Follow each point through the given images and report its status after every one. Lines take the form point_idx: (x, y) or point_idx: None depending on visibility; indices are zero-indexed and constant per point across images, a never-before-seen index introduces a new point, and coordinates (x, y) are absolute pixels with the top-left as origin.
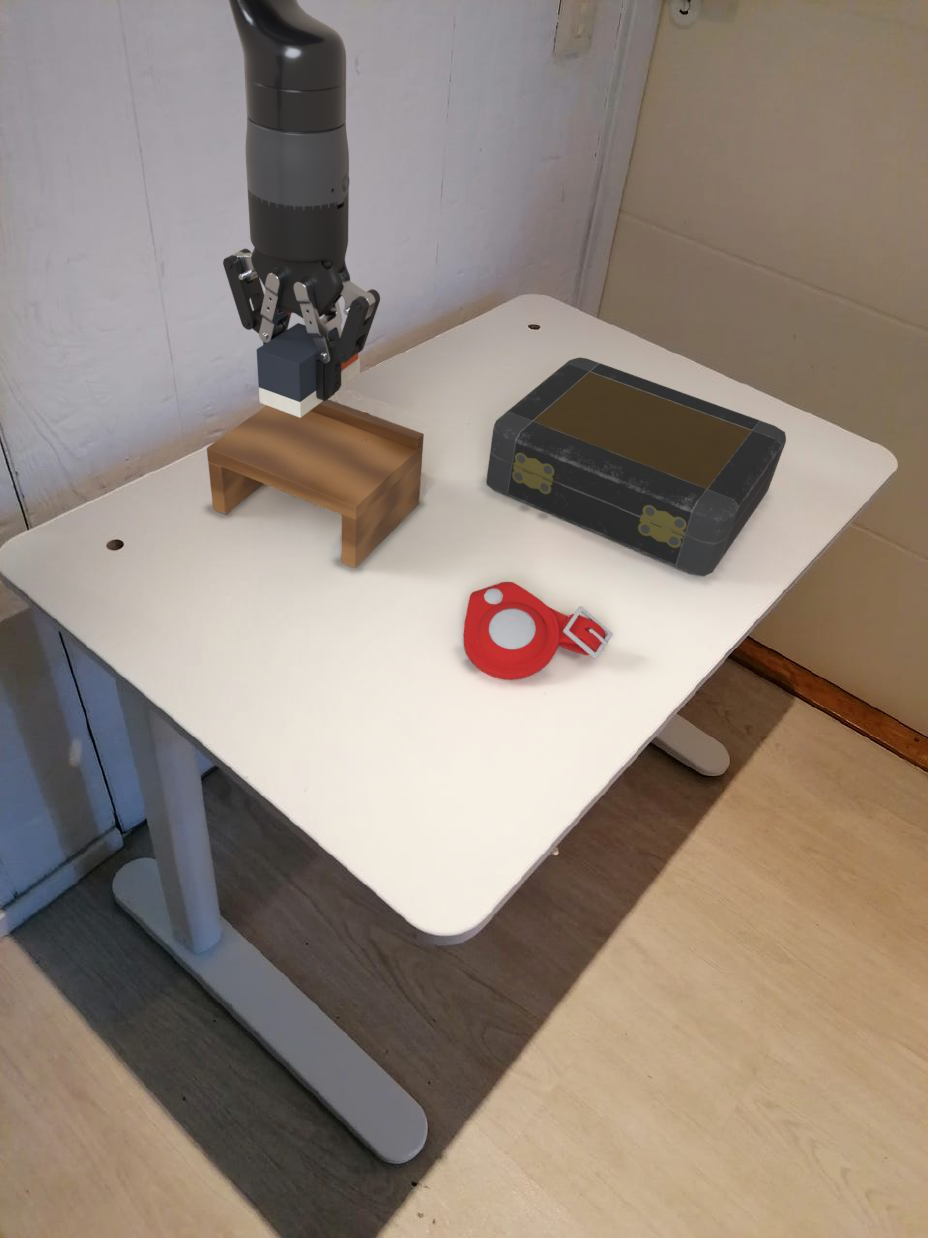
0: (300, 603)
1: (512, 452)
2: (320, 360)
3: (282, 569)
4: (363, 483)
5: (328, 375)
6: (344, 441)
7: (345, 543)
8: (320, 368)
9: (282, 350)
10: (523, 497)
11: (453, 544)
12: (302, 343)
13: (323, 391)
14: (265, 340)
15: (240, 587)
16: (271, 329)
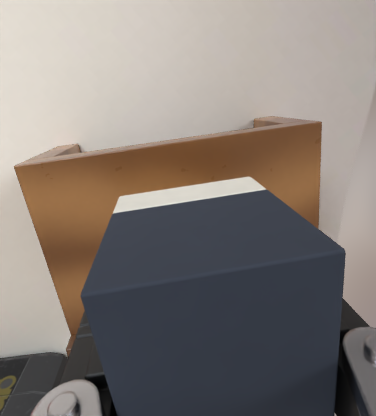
0: (52, 41)
1: (4, 410)
2: (85, 383)
3: (122, 82)
4: (58, 222)
5: (86, 347)
6: None
7: (61, 149)
8: (97, 352)
9: (237, 324)
10: (6, 362)
11: (13, 258)
12: (213, 413)
13: None
14: (363, 335)
15: (134, 11)
16: (373, 398)
